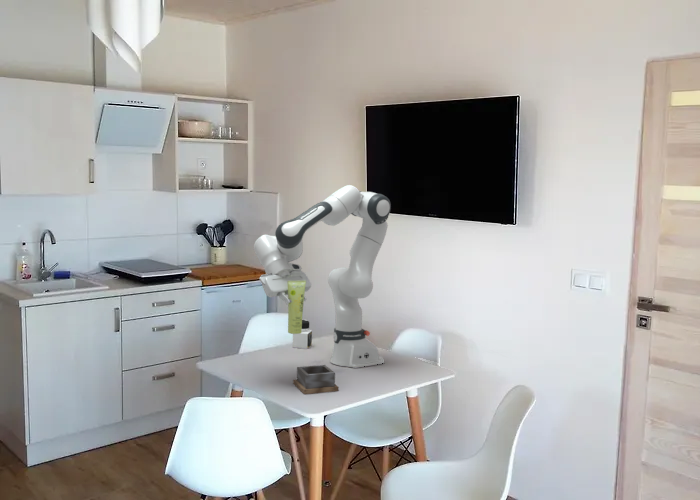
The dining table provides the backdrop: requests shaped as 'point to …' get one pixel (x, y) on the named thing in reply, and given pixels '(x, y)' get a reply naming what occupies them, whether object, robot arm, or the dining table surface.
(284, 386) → the dining table surface
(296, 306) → the tube
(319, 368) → the holder
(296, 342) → the medicine bottle
